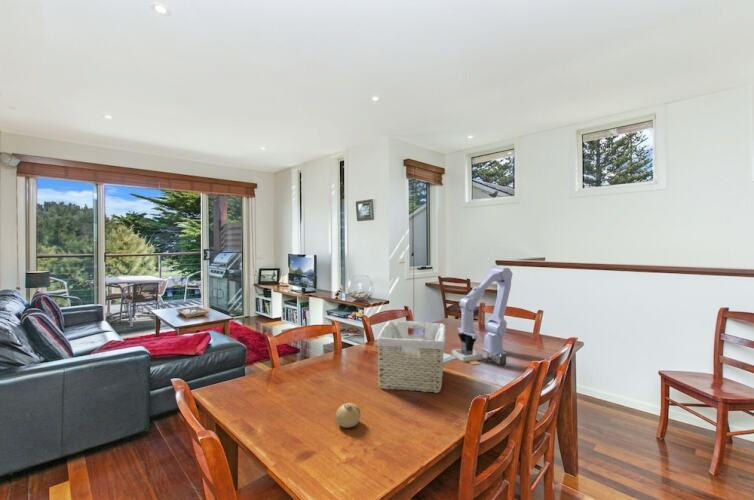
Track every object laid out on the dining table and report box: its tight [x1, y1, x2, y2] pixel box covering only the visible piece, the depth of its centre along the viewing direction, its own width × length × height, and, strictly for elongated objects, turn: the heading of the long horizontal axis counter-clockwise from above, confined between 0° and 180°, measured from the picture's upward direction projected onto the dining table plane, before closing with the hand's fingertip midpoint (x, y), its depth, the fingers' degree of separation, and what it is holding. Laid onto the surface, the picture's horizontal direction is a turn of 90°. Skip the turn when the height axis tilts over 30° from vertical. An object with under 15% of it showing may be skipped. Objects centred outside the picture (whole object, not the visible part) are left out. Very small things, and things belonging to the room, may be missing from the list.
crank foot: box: [484, 356, 496, 364], centre depth 169 cm, size 5×5×1 cm
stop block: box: [460, 341, 474, 355], centre depth 174 cm, size 4×4×6 cm
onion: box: [335, 402, 361, 429], centre depth 112 cm, size 8×8×7 cm
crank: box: [486, 351, 507, 367], centre depth 165 cm, size 12×3×5 cm, turn 18°
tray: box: [451, 348, 484, 363], centre depth 174 cm, size 11×11×2 cm
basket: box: [376, 320, 447, 394], centre depth 147 cm, size 27×27×22 cm
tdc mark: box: [467, 360, 481, 366], centre depth 166 cm, size 4×4×1 cm
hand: (467, 349), depth 174 cm, fingers closed on stop block, 4 cm apart
